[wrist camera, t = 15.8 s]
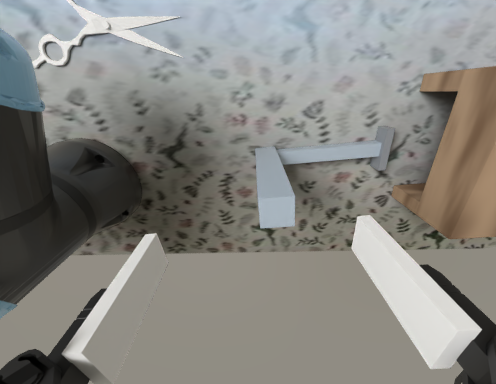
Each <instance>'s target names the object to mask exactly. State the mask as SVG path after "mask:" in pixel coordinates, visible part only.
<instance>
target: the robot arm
mask: <svg viewBox="0 0 496 384" xmlns="http://www.w3.org/2000/svg"><path fill="white" fill-rule="evenodd" d="M44 109H45V105H44V102H43V101H42V100H41V99H40V95H39V90H38V86H37V81H36V76H35V72H34V67H33V63H32V60H31V58H30V56H29V54H28V53H27V51H26V50H25V49H24V47H23V46H22V45H21V44H20V43H19V42H18V41H17V40H15V39H14V38H13V37H12V36H11V35H9V34H8V33H6V32H5V31H3V30H2V29H0V318H2V317H3V316H4V315H5V314H7V313H8V312H9V311H11V310H13V309H14V308H15V307H16V306H17V305H16V304H17V303H18V302H19V301H20V300H21V299H23V298H24V297H25V296H26V295H27V294H28V293H29V292H30V291H31V290H32V289H34V288H35V287H36V286H37V285H38V284H39V283H40V282H41V281H42V280H44V279H45V278H46V277H47V276H48V275H49V274H50V273H51V272H52V271H54V270H55V269H56V268H57V267H58V266H59V265H60V264H61V263H62V262H64V261H65V260H66V259H67V258H68V257H69V256H70V255H71V254H72V253H74V252H75V251H76V250H77V249H78V248H79V247H80V246H81V245H82V244H83V243H84V242H86V241H87V240H88V239H89V238H90V237H91V236H92V235H94V234H97V233H99V232H101V231H103V230H106V229H108V228H110V227H112V226H115V225H117V224H119V223H121V222H123V221H124V220H126V219H127V218H128V217H129V216H130V215H131V214H132V213H133V212H134V211H135V210H136V209H137V208H138V206H139V204H140V201H141V196H142V190H141V185H140V181H139V179H138V176H137V174H136V172H135V171H134V169H133V168H132V166H131V165H130V164H129V163H128V162H127V161H126V160H125V158H123V157H122V156H121V155H120V154H119V153H117V152H116V151H115V150H113V149H112V148H110V147H108V146H106V145H104V144H102V143H100V142H97V141H94V140H90V139H83V138H74V139H69V140H65V141H61V142H57V143H54V144H52V145H50V146H48V147H46V139H45V131H44V124H43V116H42V111H44ZM351 249H352V250H353V252H354V253H355V255H356V256H357V258H358V259H359V261H360V262H361V264H362V265H363V267H364V268H365V270H366V272H367V273H368V275H369V276H370V278H371V279H372V281H373V282H374V284H375V285H376V287H377V288H378V290H379V291H380V293H381V294H382V296H383V297H384V299H385V300H386V302H387V304H388V305H389V307H390V308H391V310H392V311H393V313H394V314H395V316H396V317H397V319H398V320H399V322H400V323H401V325H402V326H403V328H404V329H405V331H406V332H407V334H408V335H409V337H410V339H411V340H412V341H413V343H414V345H415V346H416V348H417V349H418V351H419V352H420V354H421V355H422V357H423V358H424V360H425V361H426V363H427V364H428V366H429V367H430V369H436V368H437V369H438V368H451V367H452V365H453V364H454V363H455V362H456V361H458V363H459V364H460V365H461V367H462V368H463V369H464V370H463V371H462V372H461V373H460V374H459V376H458V377H457V378H456V379H455V383H454V384H461V383H463V384H496V325H495V324H494V323H493V322H492V321H491V320H490V319H489V318H488V317H487V316H486V315H485V314H484V313H483V312H482V311H481V310H479V309H478V308H477V307H476V306H475V305H474V304H473V303H472V302H471V301H470V300H469V299H468V298H467V297H466V296H465V295H463V294H461V292H460V291H459V290H458V289H457V288H456V287H455V286H454V285H452V283H451V282H450V281H449V280H448V279H447V278H446V277H445V276H444V275H443V274H441V273H440V272H439V271H437V270H435V269H434V268H432V267H431V266H429V265H418V264H417V263H416V262H415V261H414V260H413V259H412V258H411V257H410V256H409V255H408V254H407V252H405V250H404V249H403V248H402V247H401V246H400V245H399V244H398V243H397V242H396V241H395V240H394V239H393V238H392V237H391V236H390V235H389V234H388V233H387V232H386V231H385V230H384V229H383V228H382V227H381V226H380V225H379V224H378V223H377V222H376V221H375V220H374V219H373V218H372V217H371V216H370V215H367V216H358V217H357V222H356V227H355V232H354V238H353V243H352V248H351ZM168 263H169V262H168V260H167V258H166V255H165V252H164V250H163V248H162V245H161V243H160V240H159V238H158V235H157V233H155V234H145V236H144V237H143V239H142V240H141V241H140V243H139V244H138V246H137V247H136V249H135V250H134V251H133V253H132V254H131V256H130V257H129V259H128V260H127V261H126V263H125V264H124V266H123V267H122V268H121V270H120V271H119V273H118V274H117V276H116V277H115V278H114V280H113V281H112V283H111V284H110V286H109V287H108V288H106V289H101V290H100V291H99V292H98V293H97V294H95V295H94V296H93V297H92V298H91V299H90V301H89V302H88V304H87V305H86V306H85V307H84V309H83V311H81V313H80V314H79V315H78V317H77V319H76V320H75V321H74V322H73V323H72V325H71V326H70V327H69V329H68V330H67V331H66V333H65V334H64V335H63V337H62V338H61V339H60V341H59V342H58V343H57V345H56V346H55V347H54V349H53V350H52V352H51V353H50V354H49V355H48V357H47V356H46V355H44V354H43V353H42V352H41V351H39V350H36V349H33V350H28V351H26V352H24V353H22V354H20V355H18V356H17V357H15V358H14V359H12V360H11V361H9V362H8V363H7V364H6V365H5V366H4V367H3V368H2V369H1V370H0V384H88V382H89V380H91V381H92V382H93V383H94V384H114V382H115V380H116V378H117V376H118V373H119V371H120V369H121V367H122V365H123V362H124V360H125V358H126V356H127V354H128V352H129V349H130V347H131V345H132V343H133V340H134V338H135V336H136V334H137V332H138V329H139V327H140V325H141V323H142V321H143V318H144V316H145V314H146V312H147V310H148V307H149V305H150V303H151V301H152V299H153V296H154V294H155V292H156V290H157V288H158V285H159V283H160V281H161V279H162V276H163V274H164V272H165V270H166V268H167V266H168Z"/></svg>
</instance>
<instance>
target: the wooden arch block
mask: <svg viewBox="0 0 496 384" xmlns="http://www.w3.org/2000/svg"><path fill="white" fill-rule="evenodd" d="M420 91H458V94H457V97H456V99H455V102H454V105H453V108H452V111H451V114H450V117H449V119H448V122H447V125H446V128H445V131H444V134H443V137H442V139H441V142H440V145H439V148H438V151H437V154H436V156H435V159H434V162H433V165H432V168H431V171H430V174H429V176H428V179H427V182H426V183H420V184H407V185H395V186H394V188H393V192H392V197H393V198H395V199H396V200H397V201H399V202H400V203H401V204H403V205H404V206H405V207H407V208H408V209H409V210H411V211H412V212H413V213H415V214H416V215H417V216H419V217H420V218H421V219H423V220H424V221H425V222H427V223H428V224H429V225H431V226H432V227H433V228H435V229H436V230H437V231H439V232H440V233H441V234H443V235H444V236H445V237H447V238H448V239H463V238H480V237H496V66H493V67H484V68H475V69H466V70H457V71H448V72H439V73H430V74H424V77H423V81H422V85H421V88H420Z"/></svg>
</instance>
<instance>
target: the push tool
mask: <svg viewBox="0 0 496 384" xmlns="http://www.w3.org/2000/svg"><path fill="white" fill-rule="evenodd" d="M394 132H395V128H392V127H388V126H378V130H377V135H376V140H374V141H363V142H352V143H341V144H330V145H319V146H309V147H298V148H287V149H276V148H275V146H274V147H263V148H255V152H256V173H257V194H258V207H259V219H260V228H274V227H289V226H295V195H294V192H293V190H292V187H291V185H290V182H289V180H288V178H287V175H286V173H285V170H284V168H283V165H286V164H297V163H309V162H320V161H332V160H343V159H355V158H367V157H372V160H371V165H370V166H372V167H373V168H375V169H377V170H378V171H380V170H385V169H386V165H387V161H388V157H389V153H390V148H391V144H392V140H393V136H394Z"/></svg>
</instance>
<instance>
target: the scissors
mask: <svg viewBox="0 0 496 384" xmlns="http://www.w3.org/2000/svg"><path fill="white" fill-rule="evenodd" d="M67 1H68V2H69V3H70V4H71V5H72V6H73V7H74V8H75V9H76V11H77V12H78V13H79V14H80V15H81V16H82V17H83V18H84V19H85V20H86V21H87V22H88V23H87V24H86V26H85V27H84V28H83V29H82V30H81V32H80V33H79V34H78V36H77V37H76V38H75V39H73V40H72V41H70V42H69V41H61V40H59V39H58V38H56V37H55V36H54V35H52V34H48V35H45V36H43V37H42V38H41V40H40V42H39V51H40V54H41V55H40V56H39V57H38V58H37V59H36V60H35V61H32V63H33V67H37V68H38V67H39V65H40V64H41V63H43V62H45V61H47V62H48V63H50V64H53V65H55V66H62V65H65V64H66V63H67V62H68V60H69V54H70V50H71V48H72V47H73V45H79V46H80V44H81V41H82V39H83V38H84V37H85V35H94V34H103V33H111V34H114V35H116V36H119V37H122V38H124V39H127V40H129V41H132V42H135V43H138V44H141V45H144V46H147V47H150V48H154V49H157V50H160V51H163V52H166V53H169V54H172V55H176V56H179V57H182V56H180V55H178V54H176V53H174V52H172V51H170V50H168V49H166V48H164V47H162V46H160V45H159V44H157V43H155V42H152V41H150V40H148V39H146V38H144V37H142V36H140V35H139V34H137V33H135V32H133V31H131V30H128V29H130V28H134V27H139V26H144V25H148V24H153V23H157V22H161V21H165V20H169V19H173V18H178V17H111V18H104V17H102V16H100V15H98V14H95V13H93V12H90V11H88V10H86V9H84V8H82V7H80V6H78V5H77V4H76V3H74V2H73V1H72V0H67ZM47 42H56V43H57V44H58V45H60V46H61V47H62V51H63V57H62V59H61V60H59V61H54V60H51V59H50V58H49V57H48V56H47V54H46V52H45V44H46V43H47ZM183 58H184V57H183Z"/></svg>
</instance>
